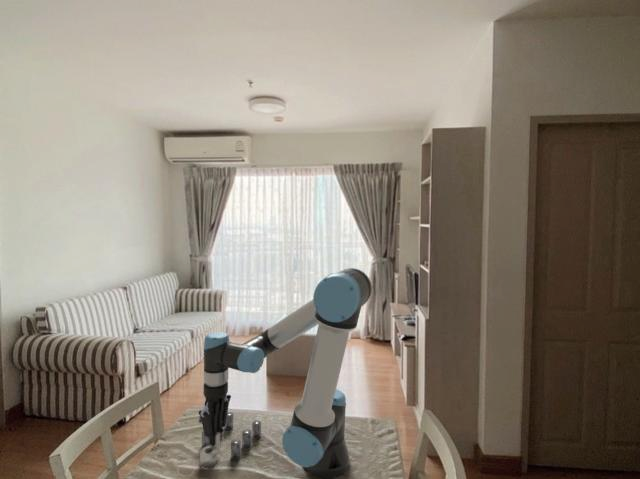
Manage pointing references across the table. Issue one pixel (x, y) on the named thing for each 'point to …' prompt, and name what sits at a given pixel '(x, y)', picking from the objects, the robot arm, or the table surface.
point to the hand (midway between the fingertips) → (214, 452)
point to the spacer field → (237, 443)
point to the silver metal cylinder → (208, 456)
